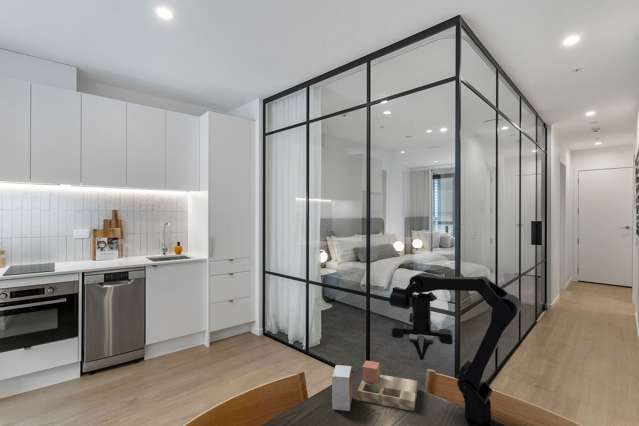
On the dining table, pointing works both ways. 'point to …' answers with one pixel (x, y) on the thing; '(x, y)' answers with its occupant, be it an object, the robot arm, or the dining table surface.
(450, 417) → the dining table surface
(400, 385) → the beige divided tray
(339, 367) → the small box
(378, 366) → the block
